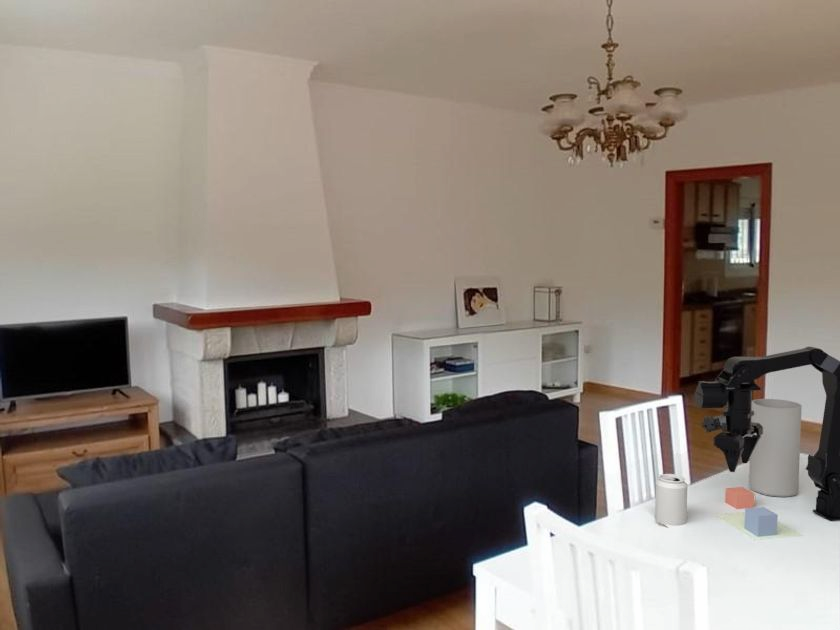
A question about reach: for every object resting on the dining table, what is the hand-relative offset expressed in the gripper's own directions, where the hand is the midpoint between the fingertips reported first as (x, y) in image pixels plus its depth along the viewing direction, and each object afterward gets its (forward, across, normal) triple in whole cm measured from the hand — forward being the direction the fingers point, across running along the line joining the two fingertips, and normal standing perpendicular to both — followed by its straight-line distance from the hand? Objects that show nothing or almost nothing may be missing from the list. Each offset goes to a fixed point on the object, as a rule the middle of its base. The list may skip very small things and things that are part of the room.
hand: (738, 467), depth 178 cm
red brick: (+13, -5, -2) cm, 14 cm away
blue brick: (+12, +10, +8) cm, 17 cm away
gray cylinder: (+13, -26, +1) cm, 30 cm away
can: (+12, +16, -11) cm, 23 cm away
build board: (+13, +6, +6) cm, 15 cm away
